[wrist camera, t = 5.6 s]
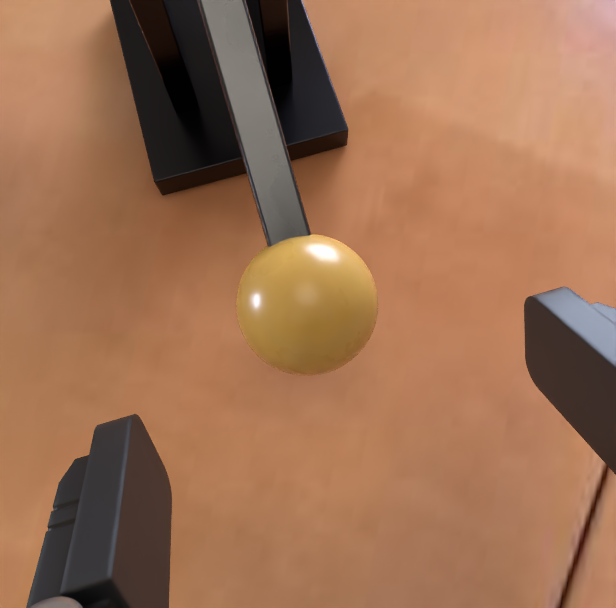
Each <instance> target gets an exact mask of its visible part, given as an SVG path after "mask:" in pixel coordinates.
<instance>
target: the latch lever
mask: <svg viewBox="0 0 616 608" xmlns="http://www.w3.org/2000/svg"><path fill="white" fill-rule="evenodd" d="M197 3H198V6H199V9H200V13H201V16H202V20H203V23H204V27H205V30H206V34H207V37H208V41H209V44H210V48H211V51H212V55H213V58H214V62H215V65H216V68H217V72H218V75H219V79H220V82H221V86H222V89H223V93H224V96H225V100H226V103H227V107H228V110H229V114H230V117H231V121H232V124H233V128H234V131H235V134H236V138H237V141H238V145H239V148H240V152H241V155H242V159H243V162H244V166H245V169H246V173H247V176H248V180H249V183H250V187H251V190H252V193H253V197H254V200H255V204H256V207H257V211H258V214H259V218H260V221H261V225H262V228H263V232H264V235H265V239H266V242H267V247H265V248H264V249H263V250H262V251H260V252H259V253H258V254H257V255H256V256H255V257H254V259H253V260H252V261H251V262H250V264H249V265H248V267H247V268H246V270H245V272H244V274H243V276H242V278H241V281H240V284H239V287H238V292H237V302H236V308H237V317H238V321H239V325H240V328H241V331H242V334H243V336H244V337H245V339H246V341H247V343H248V344H249V346H250V347H251V348H252V350H253V351H254V352H255V353H256V354H257V355H258V356H259V357H260V358H261V359H262V360H264V361H265V362H266V363H268V364H269V365H271V366H273V367H274V368H277V369H279V370H281V371H284V372H287V373H290V374H296V375H319V374H323V373H328V372H330V371H333V370H336V369H338V368H340V367H342V366H344V365H345V364H347V363H348V362H349V361H351V360H352V359H353V358H354V357H355V356H356V355H358V354H359V352H360V351H361V350H362V349H363V348H364V346H365V345H366V343H367V342H368V340H369V338H370V336H371V334H372V332H373V329H374V326H375V323H376V319H377V313H378V297H377V291H376V286H375V283H374V280H373V277H372V275H371V273H370V271H369V269H368V267H367V266H366V265H365V263H364V262H363V260H362V259H361V258H360V257H359V256H358V255H357V254H356V253H355V252H354V251H353V250H352V249H350V248H349V247H348V246H346V245H345V244H343V243H341V242H339V241H337V240H335V239H332V238H329V237H326V236H322V235H317V234H311V232H310V228H309V224H308V221H307V217H306V214H305V210H304V207H303V203H302V200H301V196H300V192H299V189H298V185H297V182H296V178H295V175H294V171H293V168H292V164H291V160H290V157H289V153H288V150H287V146H286V143H285V139H284V136H283V132H282V128H281V125H280V121H279V118H278V114H277V111H276V107H275V103H274V100H273V96H272V93H271V89H270V86H269V82H268V79H267V75H266V71H265V68H264V64H263V61H262V57H261V54H260V50H259V47H258V43H257V39H256V36H255V32H254V29H253V25H252V22H251V18H250V15H249V11H248V7H247V4H246V0H197Z"/></svg>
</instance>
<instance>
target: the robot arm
mask: <svg viewBox="0 0 616 608" xmlns="http://www.w3.org/2000/svg"><path fill="white" fill-rule="evenodd" d="M524 321H525V358H526V364H527V368H528V371H529V374H530V376H531V378H532V380H533V382H534V383H535V385H536V386H537V387H538V389H539V390H540V391H541V392H542V393H543V394H544V395H545V396H546V398H547V399H548V400H549V401H550V402H551V403H552V404H553V405H554V406H555V408H556V409H557V410H558V411H559V412H560V413H561V414H562V415H563V416H564V418H565V419H566V420H567V421H568V422H569V423H570V424H571V425H572V426H573V428H574V429H575V430H576V431H577V432H578V433H579V434H580V435H581V436H582V438H583V439H584V440H585V441H586V442H587V443H588V444H589V445H590V446H591V448H592V449H593V450H594V451H595V452H596V453H597V454H598V455H599V457H600V458H601V459H602V460H603V461H604V462H605V463H606V464H607V465H608V467H609V468H610V469H611V470H612V471H613V472H614V473H615V474H616V309H615V308H612V307H609V306H606V305H604V304H601V303H594V304H589V303H588V302H587V301H585V300H584V299H583V298H581V297H580V296H579V295H577V294H576V293H575V292H573V291H572V290H571V289H569V288H567V287H560V288H557V289H554V290H550V291H547V292H543V293H540V294H537V295H533V296H530V297H528V298H527V299H526V300H525V304H524ZM53 509H54V511H52V512H51V515H50V519H49V523H48V531H47V532H46V534H45V538H44V542H43V546H42V549H41V553H40V557H39V561H38V565H37V568H36V572H35V576H34V580H33V584H32V587H31V591H30V595H29V599H28V603H27V606H26V608H169V580H170V546H171V513H172V494H171V487H170V482H169V478H168V475H167V472H166V469H165V467H164V465H163V463H162V461H161V459H160V457H159V455H158V453H157V450H156V448H155V446H154V444H153V442H152V440H151V438H150V436H149V434H148V432H147V430H146V428H145V426H144V424H143V422H142V420H141V419H140V417H139V416H138V415H137V414H133V415H130V416H127V417H123V418H120V419H116V420H113V421H110V422H106V423H103V424H99V425H97V426H96V428H95V430H94V435H93V439H92V444H91V449H90V454H89V455H88V456H84V457H81V458H77V459H75V460H74V462H73V463H72V465H71V466H70V468H69V469H68V471H67V472H66V473H65V475H64V476H63V478H62V479H61V481H60V482H59V485H58V489H57V493H56V496H55V500H54V504H53Z"/></svg>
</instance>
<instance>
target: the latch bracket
mask: <svg viewBox="0 0 616 608" xmlns="http://www.w3.org/2000/svg"><path fill="white" fill-rule="evenodd" d="M110 2H111V7H112V11H113V15H114V19H115V23H116V27H117V31H118V35H119V39H120V43H121V48H122V52H123V56H124V60H125V64H126V68H127V72H128V76H129V80H130V85H131V89H132V93H133V97H134V101H135V105H136V109H137V113H138V117H139V121H140V126H141V130H142V134H143V138H144V142H145V146H146V150H147V154H148V158H149V163H150V167H151V171H152V175H153V179H154V182H155V184H156V186H157V187H158V189H159V191H160V192H161V194H162V195H166V194H170V193H174V192H177V191H181V190H185V189H188V188H192V187H196V186H199V185H203V184H206V183H210V182H214V181H217V180H221V179H225V178H228V177H232V176H236V175H239V174H243V173H246V169H245V166H244V162H243V159H242V155H241V152H240V148H239V145H238V141H237V138H236V134H235V131H234V128H233V124H232V121H231V117H230V114H229V110H228V107H227V103H226V100H225V96H224V93H223V89H222V86H221V82H220V79H219V75H218V72H217V68H216V65H215V62H214V58H213V55H212V51H211V48H210V44H209V41H208V37H207V34H206V30H205V27H204V23H203V20H202V16H201V13H200V9H199V6H198V3H197V0H110ZM246 4H247V7H248V11H249V15H250V18H251V22H252V25H253V29H254V32H255V36H256V39H257V43H258V47H259V50H260V54H261V57H262V61H263V64H264V68H265V71H266V75H267V79H268V82H269V86H270V89H271V93H272V96H273V100H274V103H275V107H276V111H277V114H278V118H279V121H280V125H281V128H282V132H283V136H284V139H285V143H286V146H287V150H288V153H289V157H290V160H294V159H298V158H301V157H305V156H309V155H312V154H316V153H320V152H323V151H327V150H331V149H334V148H338V147H342V146H345V145H347V138H348V127H347V124H346V121H345V118H344V116H343V113H342V110H341V107H340V105H339V102H338V99H337V96H336V93H335V91H334V88H333V85H332V82H331V79H330V77H329V74H328V71H327V68H326V66H325V63H324V60H323V57H322V54H321V52H320V49H319V46H318V43H317V40H316V38H315V35H314V32H313V29H312V27H311V24H310V21H309V18H308V15H307V13H306V10H305V7H304V4H303V1H302V0H246Z"/></svg>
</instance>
